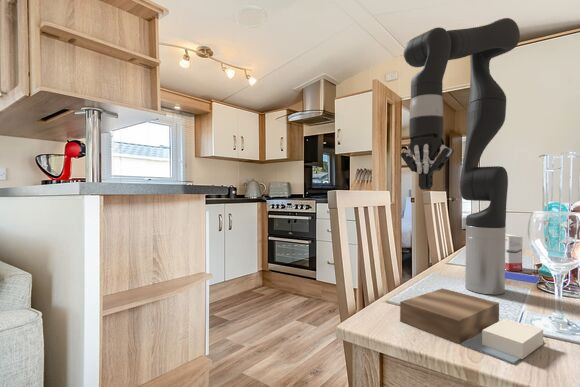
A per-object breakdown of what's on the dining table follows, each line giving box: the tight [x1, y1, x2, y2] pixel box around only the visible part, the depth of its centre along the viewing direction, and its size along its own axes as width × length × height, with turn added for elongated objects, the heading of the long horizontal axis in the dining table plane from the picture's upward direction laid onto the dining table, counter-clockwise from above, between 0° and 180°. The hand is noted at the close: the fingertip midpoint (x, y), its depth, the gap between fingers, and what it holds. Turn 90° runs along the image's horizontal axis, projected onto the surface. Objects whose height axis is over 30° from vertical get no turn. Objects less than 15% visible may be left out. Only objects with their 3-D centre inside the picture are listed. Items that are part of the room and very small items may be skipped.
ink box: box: [505, 233, 523, 272], centre depth 114 cm, size 9×5×12 cm, turn 179°
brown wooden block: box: [399, 287, 500, 344], centre depth 67 cm, size 16×12×4 cm
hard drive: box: [505, 271, 541, 286], centre depth 101 cm, size 2×8×12 cm
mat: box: [461, 332, 545, 365], centre depth 58 cm, size 13×8×1 cm, turn 126°
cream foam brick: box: [482, 318, 544, 360], centre depth 57 cm, size 9×6×2 cm, turn 126°
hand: (425, 189), depth 79 cm, fingers closed
